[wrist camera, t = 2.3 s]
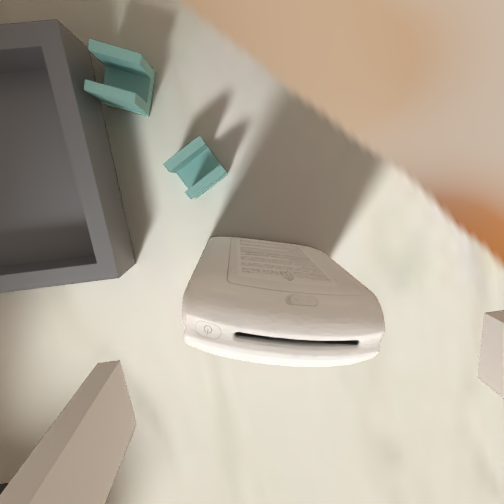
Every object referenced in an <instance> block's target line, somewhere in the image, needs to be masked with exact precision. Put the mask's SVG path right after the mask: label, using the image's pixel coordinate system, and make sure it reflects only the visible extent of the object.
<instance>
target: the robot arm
mask: <svg viewBox="0 0 504 504" xmlns="http://www.w3.org/2000/svg"><path fill="white" fill-rule="evenodd" d="M477 377H478V378H479V379H480V380H481V381H482V382H484V383H485V384H486V385H487V386H489V387H490V388H491V389H492V390H493V391H495V392H496V393H497V394H498V395H500V396H501V397H502V398H503V399H504V310H501V311H494V312H486V313H484V321H483V330H482V339H481V348H480V358H479V367H478V376H477ZM135 427H136V420H135V416H134V412H133V408H132V405H131V401H130V397H129V393H128V389H127V385H126V382H125V378H124V374H123V370H122V366H121V363H120V360H118V361H110V362H103V363H97V365H96V366H95V368H94V369H93V370H92V372H91V373H90V374H89V376H88V377H87V378H86V380H85V381H84V382H83V384H82V385H81V386H80V388H79V389H78V391H77V392H76V393H75V395H74V396H73V397H72V399H71V400H70V401H69V403H68V404H67V405H66V407H65V408H64V409H63V411H62V412H61V413H60V415H59V416H58V418H57V419H56V420H55V422H54V423H53V424H52V426H51V427H50V428H49V430H48V431H47V432H46V434H45V435H44V436H43V438H42V439H41V440H40V442H39V443H38V445H37V446H36V447H35V449H34V450H33V451H32V453H31V454H30V455H29V457H28V458H27V459H26V461H25V462H24V463H23V465H22V466H21V467H20V469H19V470H18V472H17V473H16V474H15V476H14V477H13V478H12V480H11V481H10V482H9V483H5V484H0V504H105V502H106V500H107V497H108V495H109V492H110V490H111V487H112V485H113V482H114V480H115V477H116V475H117V472H118V470H119V467H120V465H121V462H122V460H123V457H124V455H125V452H126V450H127V447H128V445H129V442H130V439H131V437H132V434H133V432H134V429H135Z"/></svg>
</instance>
